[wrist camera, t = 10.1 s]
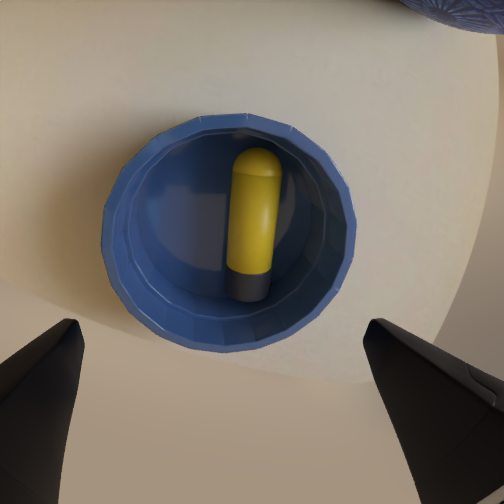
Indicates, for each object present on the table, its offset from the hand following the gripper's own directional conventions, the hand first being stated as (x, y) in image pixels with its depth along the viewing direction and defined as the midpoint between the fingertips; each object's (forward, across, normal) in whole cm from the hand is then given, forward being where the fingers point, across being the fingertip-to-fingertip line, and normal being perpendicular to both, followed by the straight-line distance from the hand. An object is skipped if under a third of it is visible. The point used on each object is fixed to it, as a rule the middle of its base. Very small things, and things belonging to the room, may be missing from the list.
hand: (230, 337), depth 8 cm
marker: (+9, -1, 0) cm, 9 cm away
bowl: (+11, -1, 0) cm, 11 cm away
